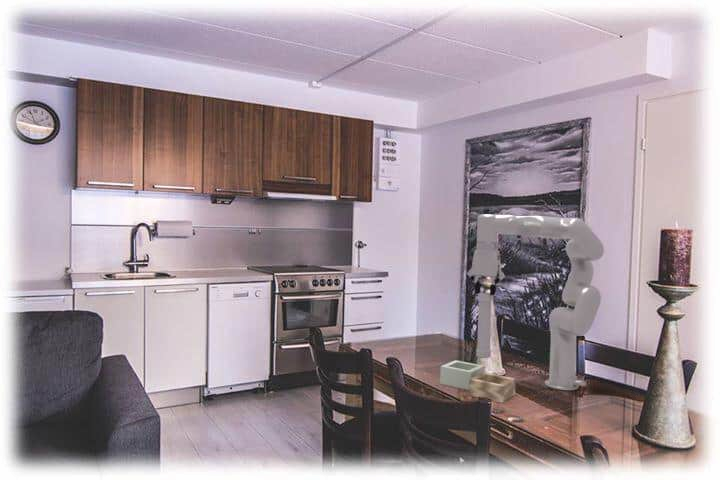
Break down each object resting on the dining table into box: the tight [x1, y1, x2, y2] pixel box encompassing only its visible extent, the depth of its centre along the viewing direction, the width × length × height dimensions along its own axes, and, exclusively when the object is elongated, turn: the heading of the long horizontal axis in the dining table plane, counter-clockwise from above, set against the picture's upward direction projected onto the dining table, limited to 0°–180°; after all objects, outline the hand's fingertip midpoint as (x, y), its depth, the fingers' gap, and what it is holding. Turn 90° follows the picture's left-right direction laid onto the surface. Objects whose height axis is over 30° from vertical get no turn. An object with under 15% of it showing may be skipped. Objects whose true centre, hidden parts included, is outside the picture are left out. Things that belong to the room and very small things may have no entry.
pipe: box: [475, 278, 493, 359], centre depth 203 cm, size 6×6×30 cm
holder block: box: [439, 359, 486, 391], centre depth 212 cm, size 13×13×7 cm
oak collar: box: [468, 371, 517, 404], centre depth 199 cm, size 13×13×6 cm
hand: (485, 293), depth 202 cm, fingers closed on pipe, 5 cm apart
